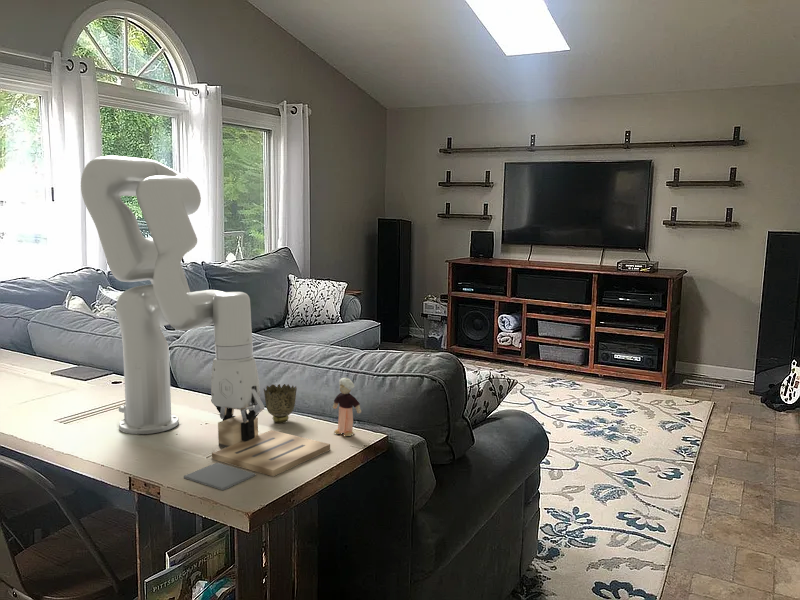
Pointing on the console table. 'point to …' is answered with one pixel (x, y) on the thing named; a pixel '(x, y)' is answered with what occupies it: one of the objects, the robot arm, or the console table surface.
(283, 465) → the plank
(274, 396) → the cup
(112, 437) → the console table surface
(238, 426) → the block
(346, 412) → the grandmother figurine
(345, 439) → the console table surface
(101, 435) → the console table surface
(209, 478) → the mat
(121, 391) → the console table surface
